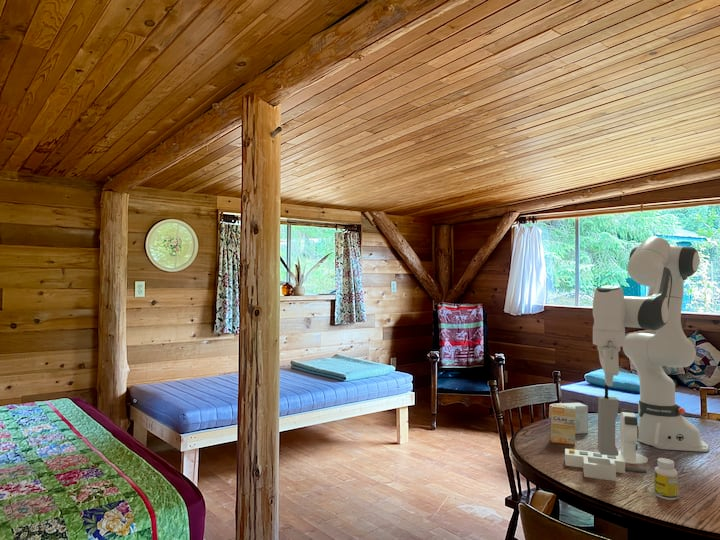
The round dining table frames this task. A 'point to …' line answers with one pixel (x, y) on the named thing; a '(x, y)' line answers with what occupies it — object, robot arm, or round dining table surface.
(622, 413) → the white holder
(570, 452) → the charging dock
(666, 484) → the supplement bottle
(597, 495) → the round dining table surface
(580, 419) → the skincare box
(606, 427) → the vintage mobile phone
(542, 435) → the round dining table surface
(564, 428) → the supplement box
